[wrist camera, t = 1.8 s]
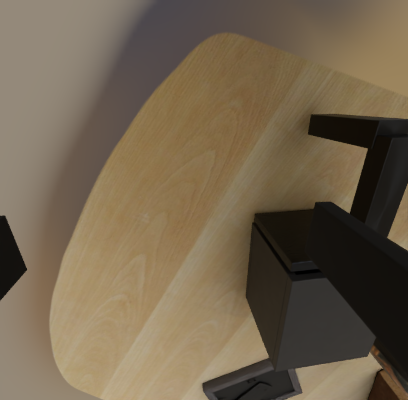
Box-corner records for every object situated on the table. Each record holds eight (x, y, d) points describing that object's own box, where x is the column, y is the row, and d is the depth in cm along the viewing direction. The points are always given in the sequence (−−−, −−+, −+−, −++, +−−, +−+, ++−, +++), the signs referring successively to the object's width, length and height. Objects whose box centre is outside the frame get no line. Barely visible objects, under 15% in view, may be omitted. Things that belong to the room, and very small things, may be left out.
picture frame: (223, 413, 58) (299, 385, 58) (225, 424, 56) (303, 394, 56) (202, 383, 51) (287, 351, 51) (203, 393, 50) (292, 360, 49)
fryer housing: (251, 222, 36) (292, 281, 24) (332, 216, 37) (407, 268, 26) (245, 296, 42) (274, 372, 30) (314, 288, 44) (367, 356, 32)
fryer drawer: (263, 114, 28) (331, 123, 16) (362, 112, 30) (490, 119, 18) (247, 291, 41) (280, 370, 29) (319, 283, 42) (377, 354, 30)
